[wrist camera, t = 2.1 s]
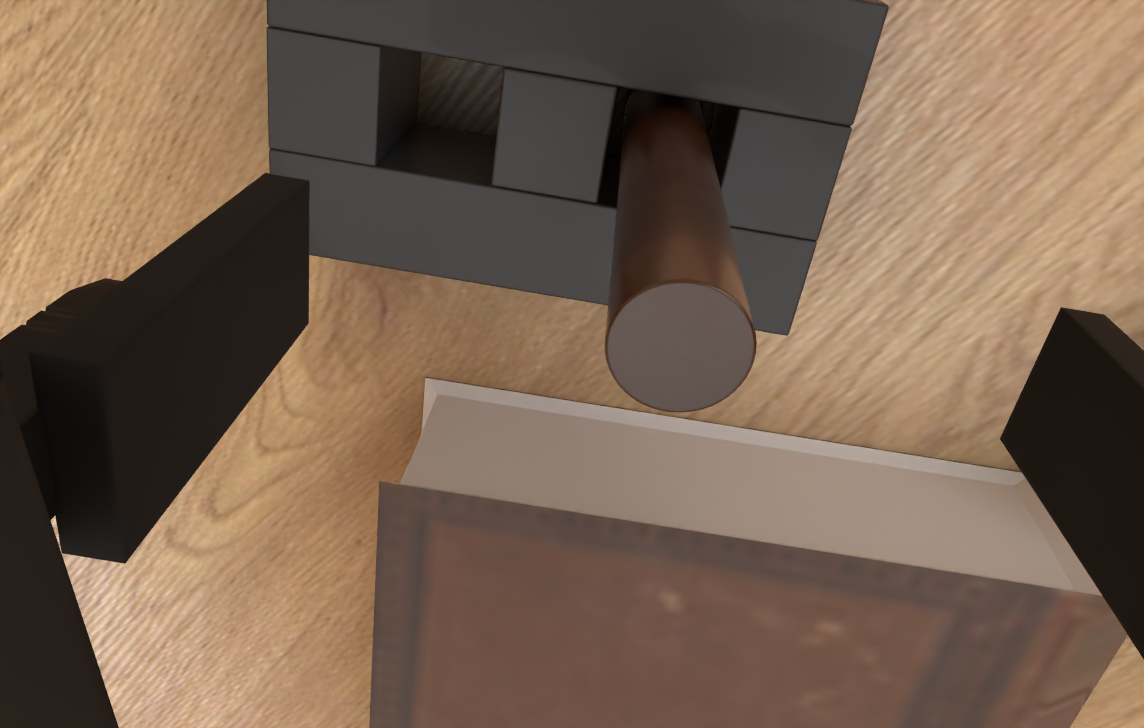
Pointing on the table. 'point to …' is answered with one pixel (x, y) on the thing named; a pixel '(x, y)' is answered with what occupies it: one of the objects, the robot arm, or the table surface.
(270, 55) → the holder
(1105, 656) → the book
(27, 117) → the table surface
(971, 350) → the table surface
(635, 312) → the stirring stick
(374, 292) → the table surface
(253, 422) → the table surface
